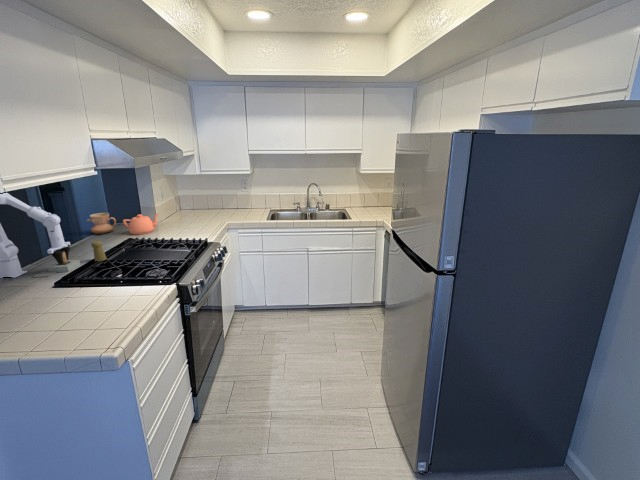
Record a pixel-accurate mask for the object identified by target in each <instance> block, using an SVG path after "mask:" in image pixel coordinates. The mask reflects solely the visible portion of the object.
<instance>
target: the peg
mask: <svg viewBox="0 0 640 480" xmlns="http://www.w3.org/2000/svg"><path fill="white" fill-rule="evenodd" d="M62 258H63V263H62V264H60V265H66V264H68V261H67V258H66V254H65V251H63V253H62Z"/></svg>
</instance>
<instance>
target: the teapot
mask: <svg viewBox="0 0 640 480" xmlns="http://www.w3.org/2000/svg"><path fill="white" fill-rule="evenodd" d="M158 215H160V213H157V214H155V215H154V217H153V219H151V217H149V216H147V215H143V214H141V213H139V214H137V215H136V216H134V217H132V218H131V219H127V218H126V219H123V220H122V224H123V225H124V226H126V228H128V232H129V233H130V234H131V235H133V236H138V235H139V236H140V235H147V234H151V233H153V232H154V231H155V229H156V227H157V225H158ZM127 222H129V224H128V223H127Z"/></svg>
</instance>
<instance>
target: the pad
mask: <svg viewBox="0 0 640 480" xmlns="http://www.w3.org/2000/svg"><path fill="white" fill-rule="evenodd" d="M56 273H58V272H49V271H48V270H43V271H41V272H39V273H37V274H35V275H33V276H32V278H35V279H36V278H49V277H50V276H53V275H55V274H56Z"/></svg>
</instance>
